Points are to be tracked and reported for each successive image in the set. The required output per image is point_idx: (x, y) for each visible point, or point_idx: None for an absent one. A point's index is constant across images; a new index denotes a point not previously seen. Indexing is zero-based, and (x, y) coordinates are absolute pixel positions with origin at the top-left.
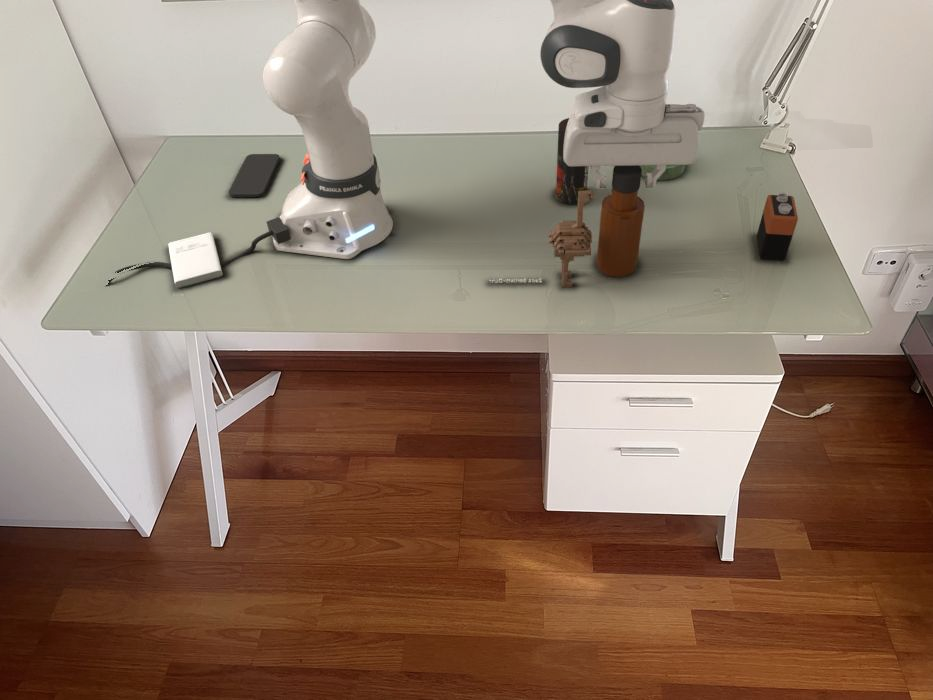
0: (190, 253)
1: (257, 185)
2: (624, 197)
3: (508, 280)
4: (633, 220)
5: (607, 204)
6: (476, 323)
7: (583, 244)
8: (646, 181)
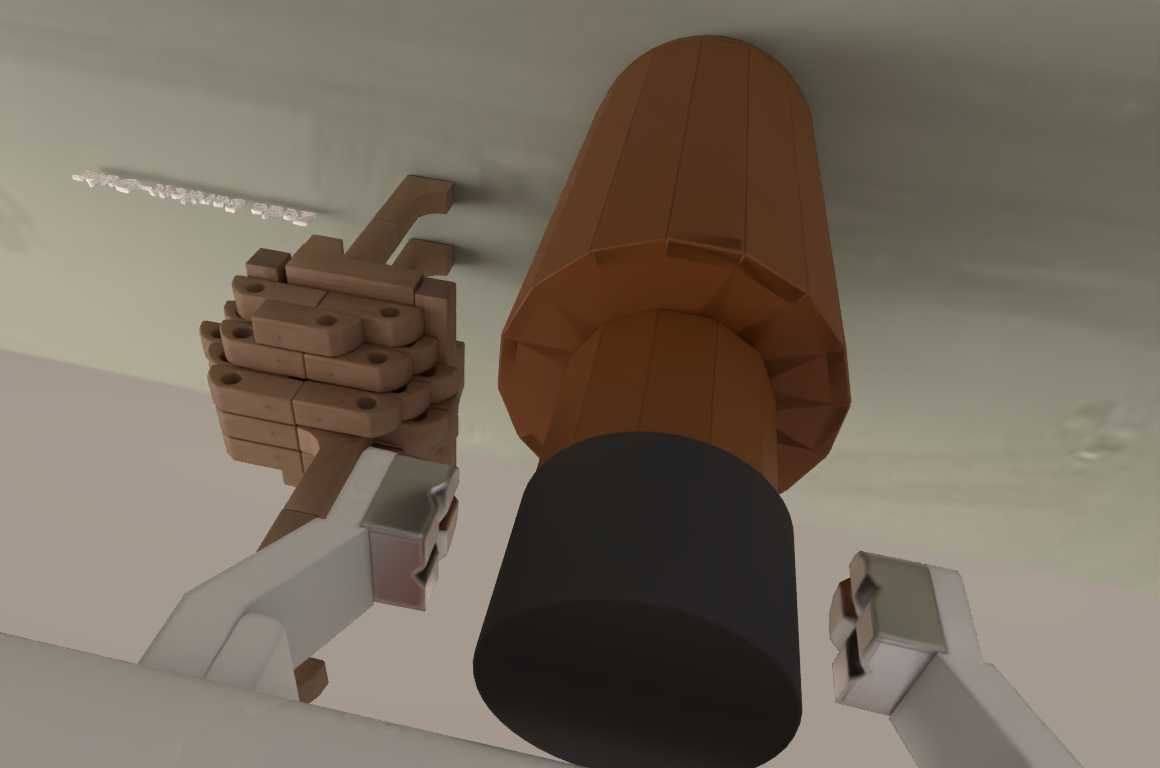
0: None
1: None
2: None
3: (160, 194)
4: None
5: (541, 370)
6: (110, 365)
7: None
8: (855, 608)
